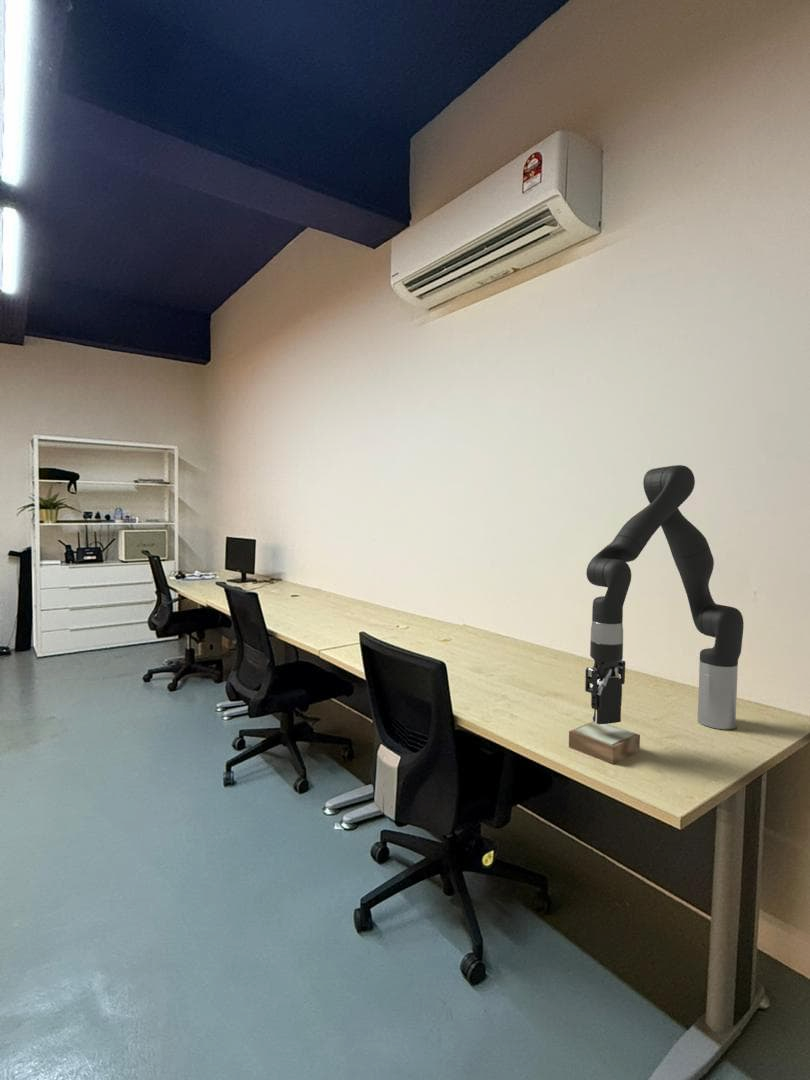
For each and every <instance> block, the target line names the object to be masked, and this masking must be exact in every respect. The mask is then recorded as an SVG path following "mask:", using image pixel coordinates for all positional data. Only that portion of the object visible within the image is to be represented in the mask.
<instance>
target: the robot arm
mask: <svg viewBox="0 0 810 1080" xmlns="http://www.w3.org/2000/svg"><path fill="white" fill-rule="evenodd" d="M642 483H643V484H642V485H643V489H644V490H643V491H644V494H645V497H646V499H647V501H648V503H649V504H648V505H647V506H646V507H644V508H643V509H642V510H640V511H639V512H637V513H636V514H635V515H633V516H632V517H631V518H630V519H629V520H627V522H625V524H624V525H623V526H622V527H621V529H620V530H619V531H618V532H617V534H616V535H615V537H614V538H613V540H612V541H611V542H610V543H609V544H607V545H606V546H605V547H603V548H602V550H600V551H599V552H598V553H597V554H595V555H594V556H593V557H592V559H590V561H589V563H588V564H587V568H586V572H585V573H586V579H587V580H588V582H589V583H590V584H591V585H593V586H597V587H603V588H607V589H606V593H605V595H603V596H597V597H595V598H594V599H593V600H592V609H591V610H592V611H591V612H592V614H591V615H592V616H591V627H590V641H589V643H590V653H589V656H590V658H591V659H593V661H594V663H593V667H586V668H585V686H584V687H585V689H584V690H585V692H587V693H590V700H591V701H590V703H591V704H590V705H591V706H590V707H591V708H592V710H594V709H596V710H600V709H601V692H602V689H603V687H605V686H606V684H607V681H608V678H609V677H613V676H614V677H618V678H619V679H620V680H621V682H622V685H624V684H625V682H626V660H623V658H624V655H623V654H624V653H623V652H624V626H623V625H624V623H623V622H624V621H623V620H624V619H623V617H624V604H625V601H626V598H627V595H628V592H629V588H630V586H631V581H632V569H631V567H630V565H629V564H628V563H630V562H633V561H636V560H637V558H638V557H639V556H640V555H641V553H642V551H644V549H645V547H646V546H647V544H648V543H649V542H650V540H651V538H652V537H653V535H654V534H656V532H657V531H658V529H659V528H660V527H661V529H662V532H663V534H664V536H665V539H666V542H667V544H668V547H669V549H670V553H671V556H672V558H673V562H674V563H675V566H676V569H677V571H678V573H679V575H680V579H681V581H682V584H683V587H684V590H685V594H686V597H687V601H688V605H689V609H690V613H691V618H692V620H693V623H694V625H695V626H694V627H695V628H696V629H697V630H698V632H699V633H700V634H702V635H704V636H708V637H712V638H715V639H714V645H713V646H712V647H711V648H710V647H709V648H704V649H701V650H700V651H699V663H698V664H699V669H698V672H699V673H698V695H697V697H698V699H697V701H698V703H697V722H698V723H700V724H702V725H703V726H705V727H709V728H712V729H719V730H732V729H735V728H736V726H737V725H736V722H737V721H736V720H737V718H736V717H737V696H738V694H737V693H738V669H739V665H738V664H739V658H740V656H741V653H742V649H743V648H742V647H743V636H744V635H743V634H744V625H745V624H744V617H743V613H742V612H741V611H740V610H739V609H738V608H736V607H734V606H729V605H728V606H727V605H723V604H718V603H716V602H715V601H714V598H713V596H712V594H711V591H710V588H709V587H710V585H709V583H710V581H711V580H710V579H711V577H712V574H713V572H714V571H713V570H714V566H715V563H714V562H715V561H714V556H713V553H712V551H711V547H710V545H709V542H708V540H707V538H706V537H705V535H704V534H703V533H702V532H701V531H700V529H698V528H697V527H696V526H695V525H694V524H693V523H691V521H689V519H687V518H686V517H685V516H684V515H683V513H682V512H681V511H680V509H679V508H680V507H681V505H682V504H683V503H684V502H686V500H687V499H688V498H689V497H690V496H691V494H692V493H693V491H694V489H695V484H696V480H695V476H694V473H693V471H692V470H691V468H690V467H688V466H686V465H683V464H676V465H669V466H661V467H655V468H651V469H648V470H647V471H646V473H645V474H644V476H643V481H642ZM597 679H603V681H602V682H600V681H597ZM597 685H599V687H598V690H597Z"/></svg>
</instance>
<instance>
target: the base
mask: <svg viewBox="0 0 810 1080" xmlns="http://www.w3.org/2000/svg"><path fill="white" fill-rule="evenodd" d="M640 742H641V734H639V733H635V732H633V731H630V730H626V729H624V728H621V727H617V726H616V725H612V724H596V723H595V722H594V721H593V720H592V721H591V722H588V723H586V724H584V725H581V726H579V727H576V728H574V729H571V730H569V731H568V748H570V749H572V750H575V751H578V752H580V753H583V754H586V755H588V756H591V757H593V758H595V759H598V760H601V761H603V762H606V763H608V764H612V765H614V764H617V763H618V762H621V761H622V760H624V759H627V758H628V757H630V756H632V755H635V753H638V752H640V747H641V746H640V744H641V743H640Z"/></svg>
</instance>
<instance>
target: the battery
mask: <svg viewBox="0 0 810 1080" xmlns="http://www.w3.org/2000/svg"><path fill="white" fill-rule="evenodd" d="M620 679H621V678H620ZM620 679H619V678H618V677H614V676H613V677H609V678H608V681H607V684H606V686H605V687H603V689H602V692H601V709H600V710H596V709H593V710H594V711H593V712H594V713H593V716H592V722H593V721H594V722H595V723H596V724H609V725H611V724H615V723H620V722H622V720H621V719H622V701H623V699H622V698H623V684H622V682H621V680H620ZM597 681H600V682H602V681H603V679H597ZM598 687H599V685H597V690H598Z"/></svg>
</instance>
